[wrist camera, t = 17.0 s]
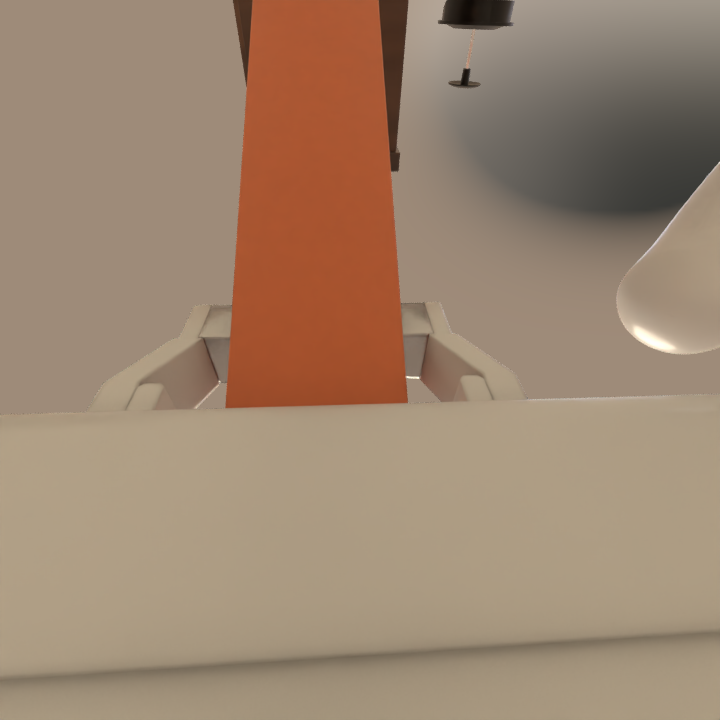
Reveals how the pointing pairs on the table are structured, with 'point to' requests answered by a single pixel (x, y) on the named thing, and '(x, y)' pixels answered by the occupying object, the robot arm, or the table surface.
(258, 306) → the orange rectangular bar
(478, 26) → the french press
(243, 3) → the cabinet
